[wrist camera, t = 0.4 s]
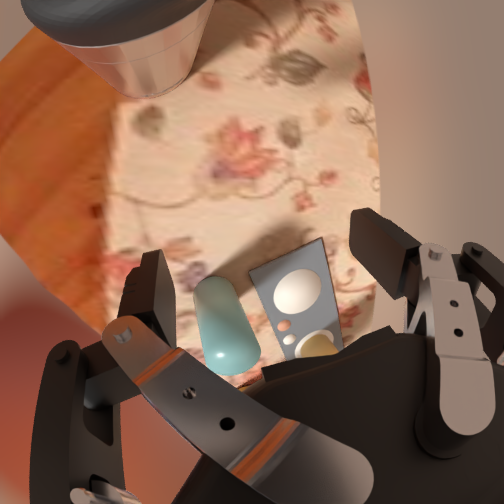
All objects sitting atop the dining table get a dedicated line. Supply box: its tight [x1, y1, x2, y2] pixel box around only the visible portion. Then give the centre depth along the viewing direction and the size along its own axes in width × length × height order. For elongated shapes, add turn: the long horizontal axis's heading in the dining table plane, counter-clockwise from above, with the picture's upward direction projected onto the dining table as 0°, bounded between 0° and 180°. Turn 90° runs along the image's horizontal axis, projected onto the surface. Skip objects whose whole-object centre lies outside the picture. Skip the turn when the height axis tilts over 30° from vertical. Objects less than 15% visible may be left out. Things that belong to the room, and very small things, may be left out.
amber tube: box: [300, 334, 339, 358], centre depth 37 cm, size 5×5×11 cm
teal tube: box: [193, 276, 261, 376], centre depth 29 cm, size 5×5×11 cm
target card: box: [249, 238, 344, 361], centre depth 40 cm, size 24×10×1 cm, turn 20°
